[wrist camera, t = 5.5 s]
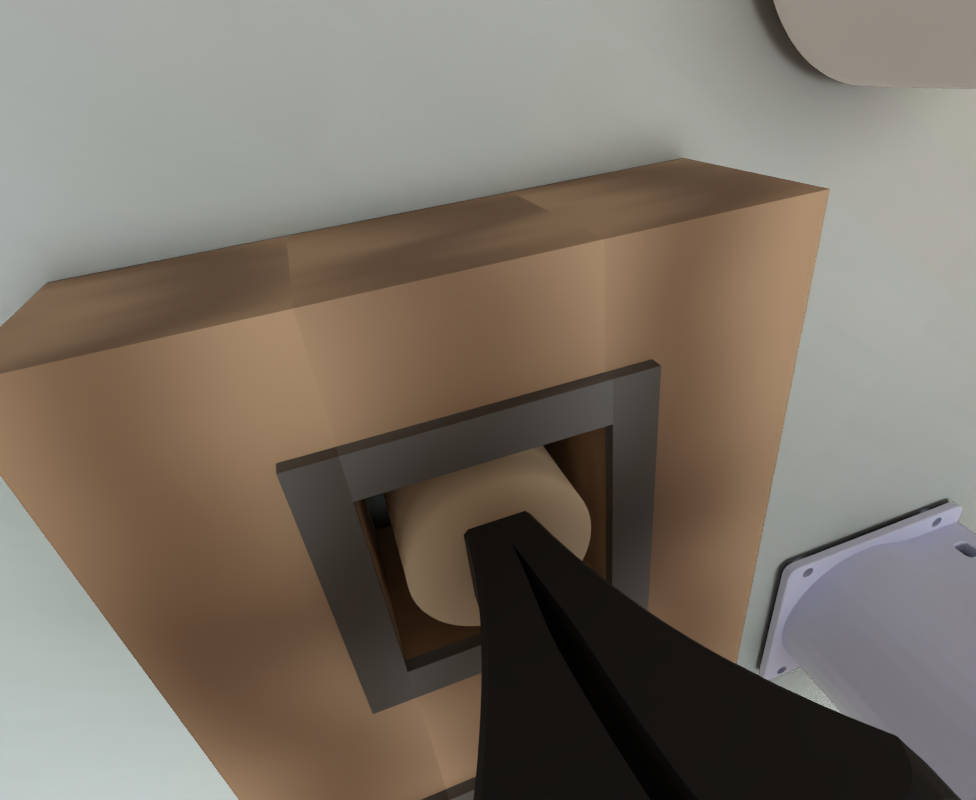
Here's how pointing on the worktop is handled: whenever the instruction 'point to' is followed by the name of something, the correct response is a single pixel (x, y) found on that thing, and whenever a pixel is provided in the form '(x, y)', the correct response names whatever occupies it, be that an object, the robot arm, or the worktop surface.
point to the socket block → (405, 445)
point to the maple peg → (477, 524)
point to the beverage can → (886, 40)
